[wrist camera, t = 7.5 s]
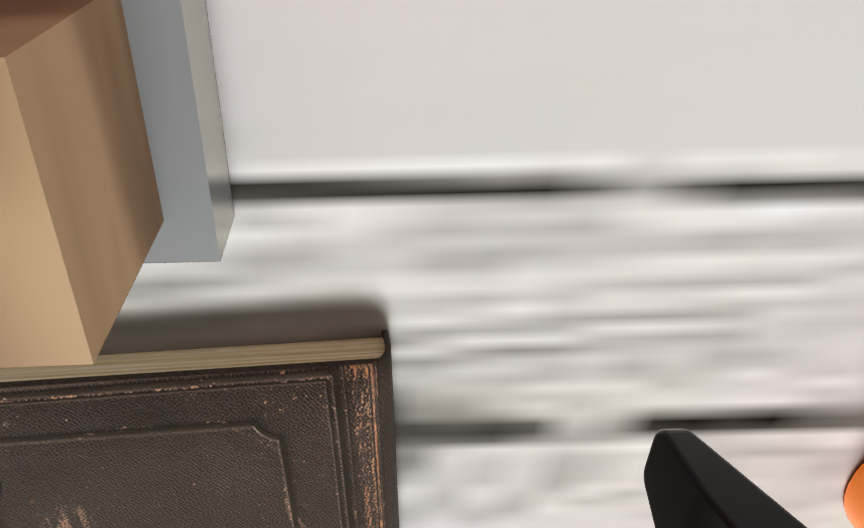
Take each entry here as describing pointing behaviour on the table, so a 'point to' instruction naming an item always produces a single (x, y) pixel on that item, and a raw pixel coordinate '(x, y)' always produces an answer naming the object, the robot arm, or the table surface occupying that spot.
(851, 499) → the shaker bottle
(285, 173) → the table surface
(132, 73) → the tan block
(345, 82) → the table surface
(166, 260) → the grey box
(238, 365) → the hardcover book
